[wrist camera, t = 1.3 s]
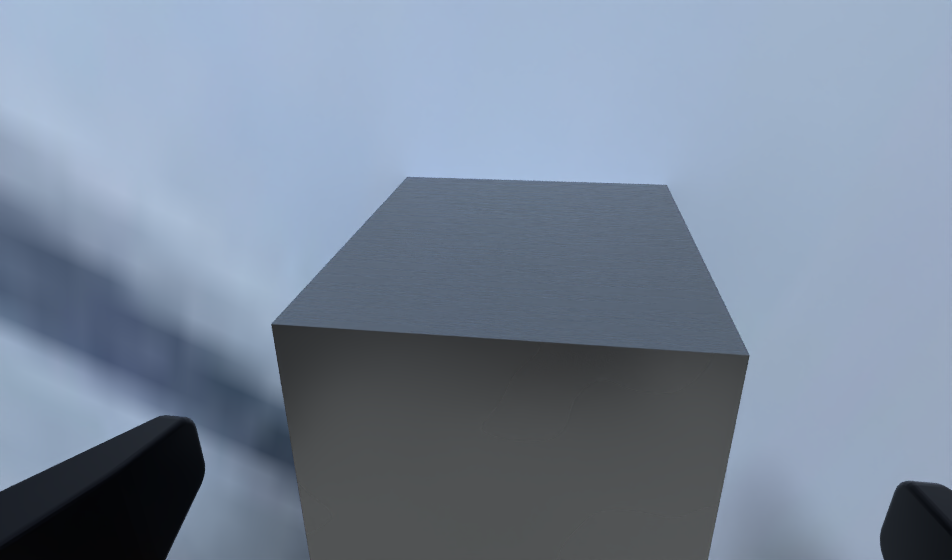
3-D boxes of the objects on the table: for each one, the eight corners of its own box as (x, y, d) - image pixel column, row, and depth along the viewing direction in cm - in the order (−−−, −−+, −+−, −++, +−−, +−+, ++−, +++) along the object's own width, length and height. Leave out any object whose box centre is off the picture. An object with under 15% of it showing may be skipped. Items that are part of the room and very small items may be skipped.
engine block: (665, 183, 9) (748, 355, 5) (628, 487, 12) (661, 786, 7) (408, 175, 10) (272, 324, 5) (424, 468, 12) (339, 737, 8)
